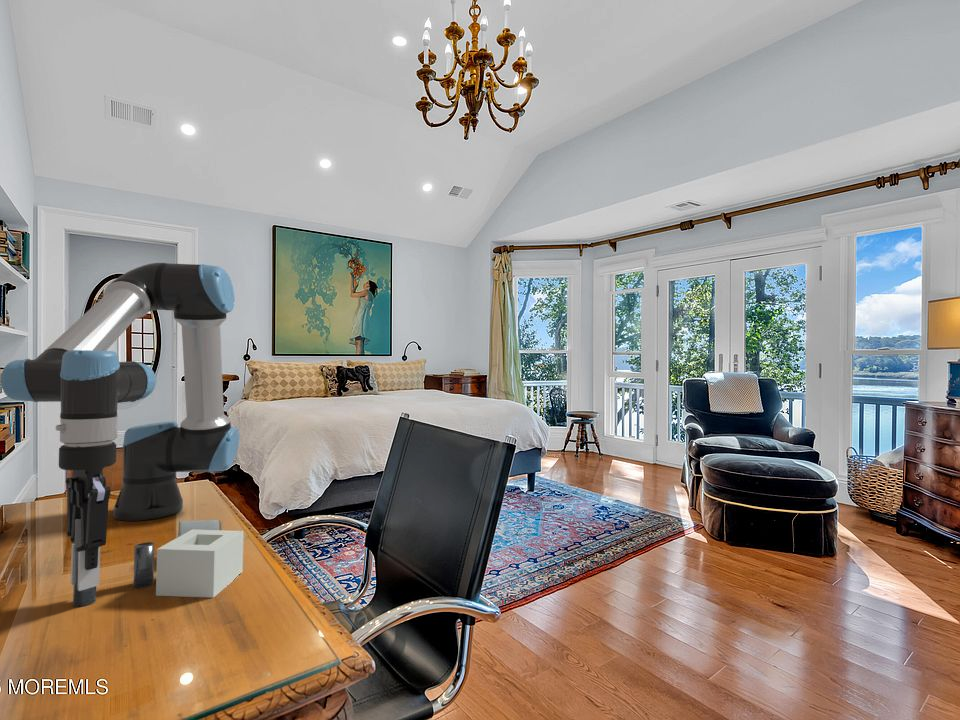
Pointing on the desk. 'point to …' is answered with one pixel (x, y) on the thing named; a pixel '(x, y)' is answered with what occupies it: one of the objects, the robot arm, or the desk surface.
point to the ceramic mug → (199, 525)
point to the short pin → (143, 565)
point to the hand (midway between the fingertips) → (84, 584)
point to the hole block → (199, 563)
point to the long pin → (81, 596)
